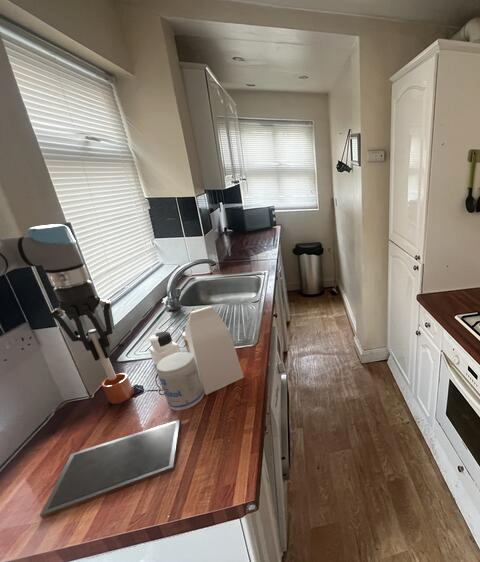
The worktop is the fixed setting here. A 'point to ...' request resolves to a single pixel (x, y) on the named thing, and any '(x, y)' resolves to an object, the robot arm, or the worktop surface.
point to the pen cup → (118, 388)
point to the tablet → (114, 467)
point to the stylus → (102, 355)
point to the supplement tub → (180, 380)
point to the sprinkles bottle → (186, 341)
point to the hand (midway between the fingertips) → (103, 356)
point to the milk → (212, 349)
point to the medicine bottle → (162, 346)
